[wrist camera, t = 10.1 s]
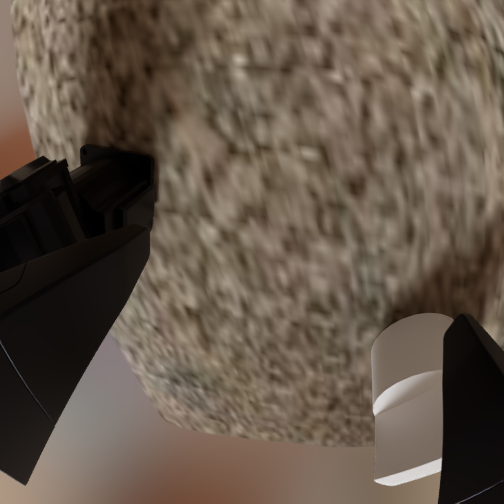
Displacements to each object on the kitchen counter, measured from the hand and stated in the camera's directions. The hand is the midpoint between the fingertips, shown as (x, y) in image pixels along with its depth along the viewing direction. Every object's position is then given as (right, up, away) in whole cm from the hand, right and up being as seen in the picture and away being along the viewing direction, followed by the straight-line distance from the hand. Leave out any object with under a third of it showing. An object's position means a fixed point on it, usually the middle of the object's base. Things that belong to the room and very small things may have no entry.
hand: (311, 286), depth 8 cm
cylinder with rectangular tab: (+14, -8, +18) cm, 24 cm away
